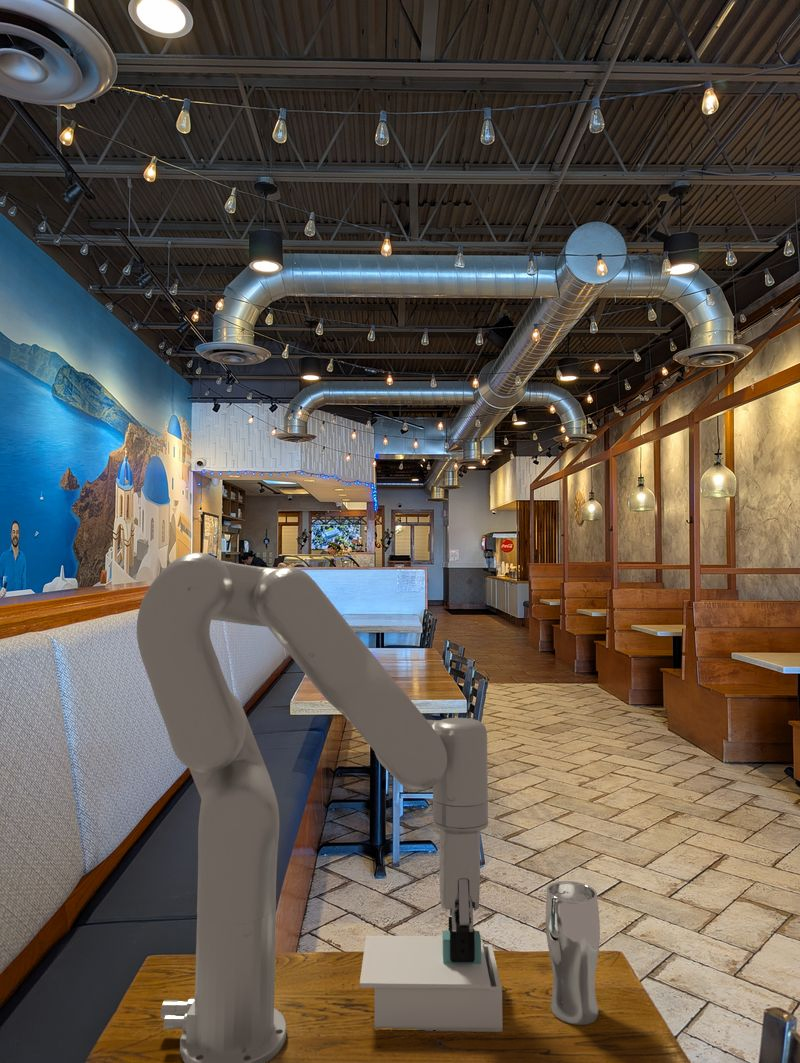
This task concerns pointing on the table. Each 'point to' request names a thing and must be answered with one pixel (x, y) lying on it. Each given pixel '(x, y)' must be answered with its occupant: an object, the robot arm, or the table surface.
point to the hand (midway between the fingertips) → (461, 953)
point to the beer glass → (573, 950)
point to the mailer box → (443, 1006)
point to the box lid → (420, 963)
